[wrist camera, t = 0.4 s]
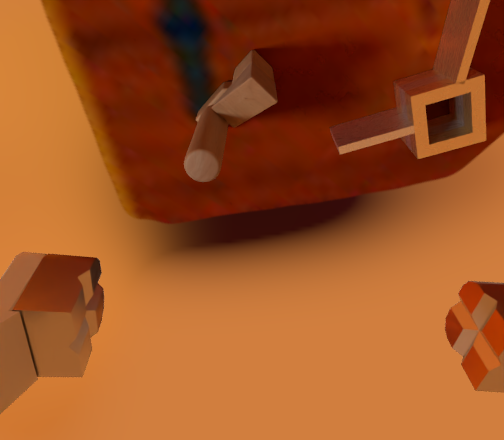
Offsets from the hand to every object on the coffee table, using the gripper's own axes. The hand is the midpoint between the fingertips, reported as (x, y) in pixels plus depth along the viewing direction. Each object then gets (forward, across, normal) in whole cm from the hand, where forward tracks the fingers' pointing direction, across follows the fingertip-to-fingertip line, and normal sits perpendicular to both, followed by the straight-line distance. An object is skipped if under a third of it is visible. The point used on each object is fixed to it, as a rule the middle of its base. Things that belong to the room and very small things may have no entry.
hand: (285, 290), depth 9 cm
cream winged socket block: (+46, -20, +6) cm, 51 cm away
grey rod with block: (+47, 0, +10) cm, 48 cm away
